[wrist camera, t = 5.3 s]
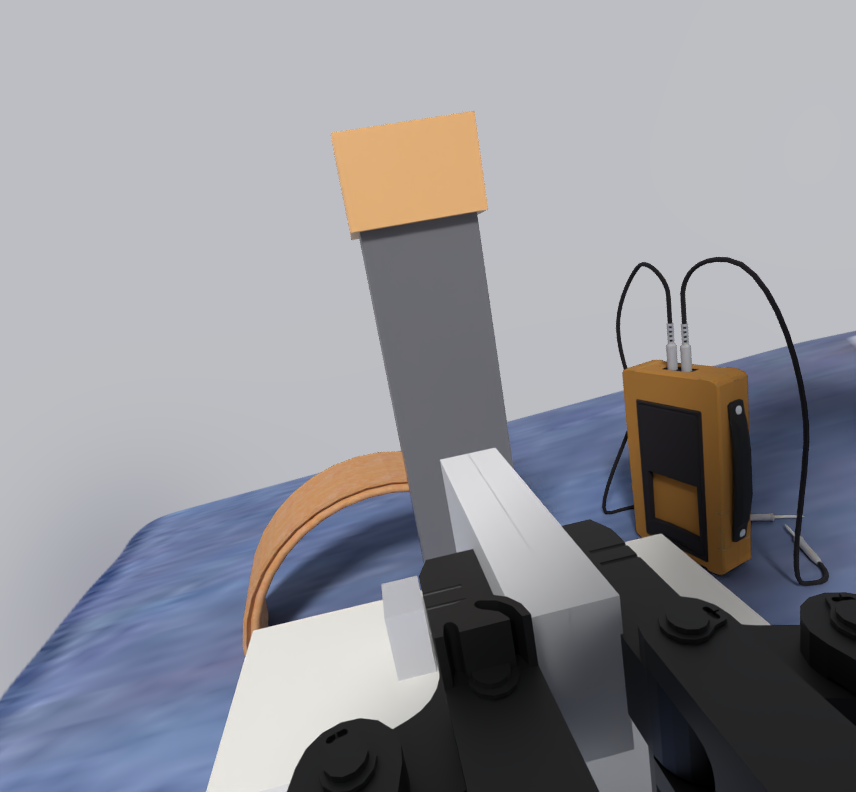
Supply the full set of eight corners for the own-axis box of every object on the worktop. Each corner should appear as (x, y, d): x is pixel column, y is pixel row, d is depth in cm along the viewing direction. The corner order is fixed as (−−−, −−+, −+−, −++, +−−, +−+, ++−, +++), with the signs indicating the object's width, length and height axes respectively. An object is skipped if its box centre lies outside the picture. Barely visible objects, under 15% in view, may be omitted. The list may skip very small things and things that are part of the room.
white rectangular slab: (667, 627, 30) (657, 482, 27) (798, 772, 21) (798, 577, 19) (281, 726, 28) (237, 578, 25) (247, 933, 19) (175, 735, 17)
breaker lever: (523, 594, 24) (455, 137, 20) (547, 640, 21) (474, 111, 16) (427, 617, 24) (334, 156, 19) (438, 667, 21) (330, 132, 16)
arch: (540, 579, 36) (521, 445, 34) (247, 670, 32) (202, 527, 30) (508, 540, 42) (490, 423, 39) (255, 614, 38) (218, 490, 36)
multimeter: (883, 547, 33) (898, 221, 28) (785, 612, 29) (783, 249, 24) (683, 479, 46) (670, 250, 41) (598, 518, 42) (572, 270, 37)
